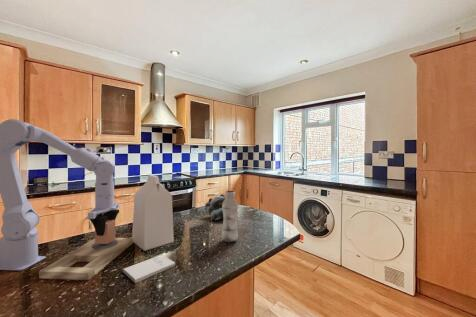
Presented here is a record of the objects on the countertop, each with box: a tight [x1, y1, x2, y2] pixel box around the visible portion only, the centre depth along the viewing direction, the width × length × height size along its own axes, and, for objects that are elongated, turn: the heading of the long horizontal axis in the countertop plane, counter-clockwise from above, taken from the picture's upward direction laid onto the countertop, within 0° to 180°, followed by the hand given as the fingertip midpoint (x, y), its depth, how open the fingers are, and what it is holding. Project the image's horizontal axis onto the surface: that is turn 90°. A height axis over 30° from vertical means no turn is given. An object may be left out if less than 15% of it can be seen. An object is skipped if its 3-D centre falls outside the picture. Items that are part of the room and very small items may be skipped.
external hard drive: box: [122, 254, 176, 284], centre depth 67 cm, size 2×8×12 cm
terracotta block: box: [94, 219, 116, 244], centre depth 78 cm, size 4×4×7 cm
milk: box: [131, 174, 175, 251], centre depth 86 cm, size 12×12×26 cm
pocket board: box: [38, 237, 134, 281], centre depth 73 cm, size 14×24×2 cm, turn 178°
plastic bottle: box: [221, 190, 239, 243], centre depth 88 cm, size 6×7×20 cm
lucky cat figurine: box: [205, 193, 226, 222], centre depth 119 cm, size 15×12×14 cm
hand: (104, 232), depth 78 cm, fingers closed on terracotta block, 4 cm apart
